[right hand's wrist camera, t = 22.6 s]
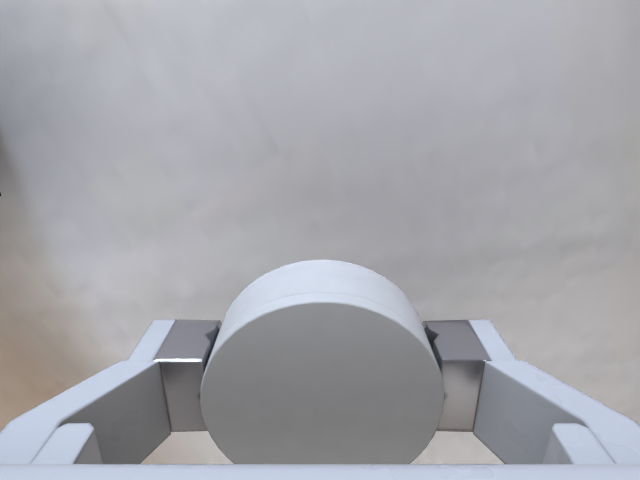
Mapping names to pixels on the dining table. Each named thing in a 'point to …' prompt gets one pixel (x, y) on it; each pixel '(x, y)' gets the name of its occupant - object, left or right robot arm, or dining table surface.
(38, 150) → the dining table surface
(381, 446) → the lid
